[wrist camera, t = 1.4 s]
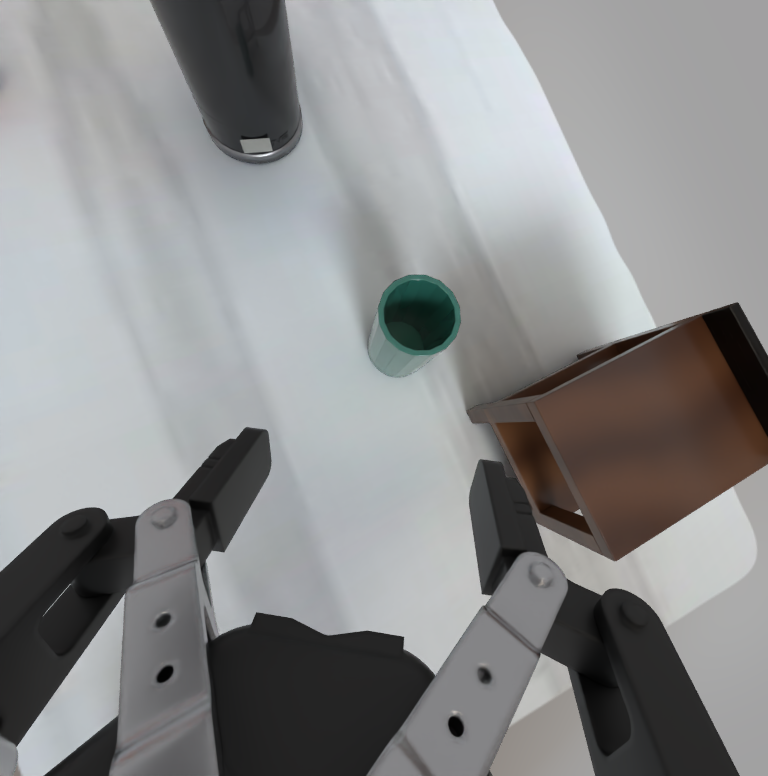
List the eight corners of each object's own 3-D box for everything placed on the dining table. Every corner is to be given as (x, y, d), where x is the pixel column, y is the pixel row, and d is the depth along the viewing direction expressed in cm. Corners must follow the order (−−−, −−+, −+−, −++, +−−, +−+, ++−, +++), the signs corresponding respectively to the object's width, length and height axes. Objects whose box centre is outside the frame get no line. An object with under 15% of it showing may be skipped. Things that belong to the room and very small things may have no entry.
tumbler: (357, 333, 33) (364, 293, 23) (410, 311, 34) (437, 262, 24) (383, 387, 32) (401, 369, 22) (435, 362, 33) (474, 335, 23)
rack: (465, 410, 33) (551, 399, 19) (586, 349, 35) (738, 301, 22) (516, 513, 32) (641, 575, 19) (636, 444, 35) (823, 455, 21)
